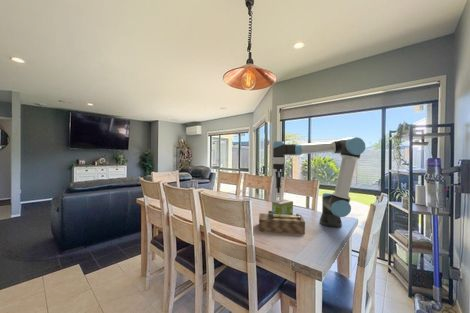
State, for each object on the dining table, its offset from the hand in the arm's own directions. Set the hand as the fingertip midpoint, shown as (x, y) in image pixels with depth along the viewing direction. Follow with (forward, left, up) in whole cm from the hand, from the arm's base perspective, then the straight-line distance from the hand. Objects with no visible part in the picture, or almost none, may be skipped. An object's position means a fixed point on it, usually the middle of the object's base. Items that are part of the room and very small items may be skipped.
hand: (278, 197), depth 146 cm
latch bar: (-4, 0, -14) cm, 14 cm away
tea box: (-5, -20, -22) cm, 30 cm away
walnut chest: (-2, 0, -22) cm, 22 cm away
